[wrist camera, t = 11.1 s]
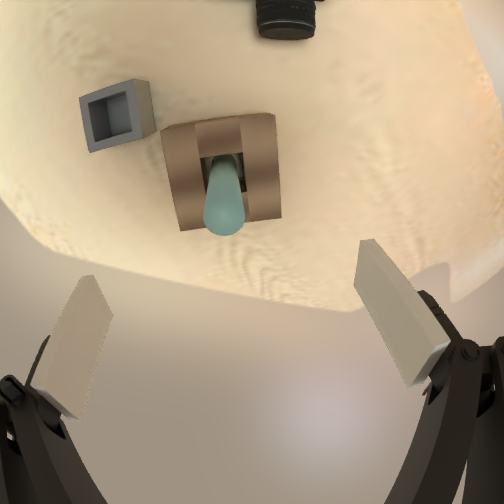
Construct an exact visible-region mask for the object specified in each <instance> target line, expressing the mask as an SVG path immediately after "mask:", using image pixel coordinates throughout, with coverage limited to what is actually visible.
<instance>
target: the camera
mask: <svg viewBox="0 0 504 504" xmlns="http://www.w3.org/2000/svg"><path fill="white" fill-rule="evenodd" d="M256 1H257V3H256V8H257V15H258V18H257V26H258V28H259V34H260V35H261V36H263V37H266V38H271V39H282V40H300V39H308V38H311V37H313V36H314V31H315V28H316V25H315V10H316V6H315V2H314V0H256ZM315 1H324V0H315Z"/></svg>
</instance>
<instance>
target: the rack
mask: <svg viewBox="0 0 504 504" xmlns="http://www.w3.org/2000/svg"><path fill="white" fill-rule="evenodd" d="M160 133H161V139H162V145H163V150H164V156H165V161H166V166H167V171H168V176H169V181H170V186H171V191H172V196H173V200H174V205H175V210H176V214H177V218H178V223H179V227H180V231H186V230H193V229H200V228H207V227H206V225H205V223H204V220H203V213H204V207H205V200H206V194H207V188H208V180H207V173H206V167H205V160H204V157H209V156H216V155H223V154H231V153H239V152H241V156H242V165H243V174H244V179H243V180H239V184H240V190H241V195H242V201H243V206H244V212H245V221H244V223H245V222H253V221H261V220H269V219H278V218H282V215H281V196H280V179H279V163H278V148H277V135H276V122H275V115H273V114H270V113H260V114H249V115H239V116H230V117H222V118H215V119H208V120H202V121H195V122H189V123H184V124H179V125H173V126H169V127H167V128H165V129H163V130H161V131H160Z"/></svg>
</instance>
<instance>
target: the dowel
mask: <svg viewBox="0 0 504 504" xmlns="http://www.w3.org/2000/svg"><path fill="white" fill-rule="evenodd" d="M203 220H204V223H205V225H206V227H207V228H208V229H209V230H210V231H211V232H212V233H214V234H217V235H221V236H226V235H231V234H234V233H235V232H237V231H238V230H239V229H240V228H241V227H242V226H243V224H244V221H245V212H244V206H243V201H242V195H241V190H240V184H239V179H238V173H237V167H236V162H235V159H234V158H233V157H232V156H231V155H230V154H223V155H217V156H215V157H214V159H213V161H212V165H211V171H210V177H209V182H208V188H207V194H206V200H205V207H204V213H203Z"/></svg>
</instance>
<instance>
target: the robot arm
mask: <svg viewBox="0 0 504 504" xmlns="http://www.w3.org/2000/svg"><path fill="white" fill-rule="evenodd" d="M354 287H355V289H356V290H357V292H358V294H359V296H360V297H361V299H362V301H363V303H364V304H365V306H366V308H367V310H368V312H369V313H370V315H371V317H372V319H373V321H374V322H375V325H376V326H377V328H378V330H379V332H380V334H381V335H382V338H383V340H384V342H385V343H386V346H387V347H388V349H389V351H390V353H391V355H392V357H393V359H394V361H395V363H396V365H397V367H398V370H399V372H400V374H401V376H402V378H403V380H404V382H405V384H406V386H407V388H408V389H410V388H412V387H415V386H417V385H420V384H422V383H423V382H424V381H425V380H426V378H427V376H428V375H429V377H430V378H431V382H430V384H429V385H428V386H427V388H426V389H425V390H424V392H423V394H422V395H425V394H426V393H427V396H426V400H425V403H424V407H423V410H422V413H421V417H420V420H419V423H418V426H417V429H416V432H415V435H414V438H413V441H412V443H411V446H410V449H409V451H408V454H407V456H406V458H405V461H404V463H403V466H402V468H401V470H400V472H399V475H398V477H397V479H396V481H395V483H394V485H393V487H392V490H391V491H390V494H389V496H388V497H387V499H386V501H385V503H384V504H452V502H453V500H454V497H455V495H456V491H457V489H458V486H459V483H460V480H461V477H462V474H463V471H464V468H465V464H466V461H467V469H466V479H465V487H464V493H463V499H462V504H504V336H503V337H499V338H498V339H497V340H496V342H495V343H494V344H493V345H492V346H481V347H479V346H478V344H476V343H475V342H474V341H472V340H469V339H463V338H462V337H461V335H460V334H459V332H458V331H457V330H456V328H455V327H454V325H453V324H452V322H451V321H450V320H449V318H448V317H447V315H446V314H444V311H443V310H442V309H441V307H439V305H438V303H437V302H436V301H435V299H434V298H433V297H432V296H431V295H429V294H428V293H427V292H425V291H424V290H422V291H418V292H417V291H416V290H415V289H414V287H413V286H412V285H411V284H410V282H409V281H408V280H407V278H406V277H405V276H404V275H403V273H402V272H401V271H400V270H399V268H398V267H397V266H396V265H395V263H394V262H393V261H392V260H391V258H390V257H389V256H388V255H387V254H386V252H385V251H384V250H383V249H382V248H381V246H380V245H379V244H378V243H377V242H376V241H375V239H368V240H360V246H359V253H358V260H357V267H356V273H355V279H354ZM112 317H113V313H112V311H111V309H110V307H109V306H108V304H107V302H106V300H105V298H104V296H103V294H102V292H101V290H100V288H99V286H98V284H97V282H96V279H95V277H94V275H89V276H82V277H81V279H80V280H79V282H78V284H77V286H76V287H75V289H74V291H73V293H72V295H71V296H70V298H69V300H68V302H67V304H66V306H65V308H64V310H63V311H62V313H61V316H60V317H59V319H58V321H57V324H56V325H55V328H54V329H53V332H52V334H51V335H49V336H48V337H47V338H46V339H45V341H44V342H43V343H42V345H41V347H40V349H39V352H38V354H37V356H36V359H35V361H34V363H33V365H32V368H31V370H30V373H29V375H28V379H27V381H26V383H25V386H23V385H22V384H21V383H20V382H19V381H18V380H17V379H16V378H15V377H14V376H13V375H7V376H5V377H3V379H1V381H0V397H1V398H0V504H107V502H106V500H105V499H104V497H103V496H102V494H101V493H100V491H99V490H98V488H97V486H96V485H95V483H94V482H93V480H92V478H91V477H90V475H89V473H88V471H87V469H86V468H85V466H84V464H83V462H82V460H81V458H80V456H79V454H78V452H77V450H76V448H75V446H74V444H73V442H72V440H71V438H70V436H69V434H68V431H67V429H66V426H65V424H64V422H63V421H62V420H61V419H60V416H61V413H62V414H63V415H64V416H65V417H67V418H68V419H69V420H74V421H79V422H82V420H83V415H84V411H85V407H86V402H87V399H88V395H89V391H90V387H91V383H92V379H93V376H94V372H95V369H96V366H97V362H98V358H99V355H100V352H101V349H102V346H103V343H104V340H105V337H106V334H107V331H108V328H109V325H110V322H111V320H112ZM494 384H495V390H494ZM7 432H8V433H9V434H11V435H12V437H13V439H12V440H10V439H9V438H7Z"/></svg>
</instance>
